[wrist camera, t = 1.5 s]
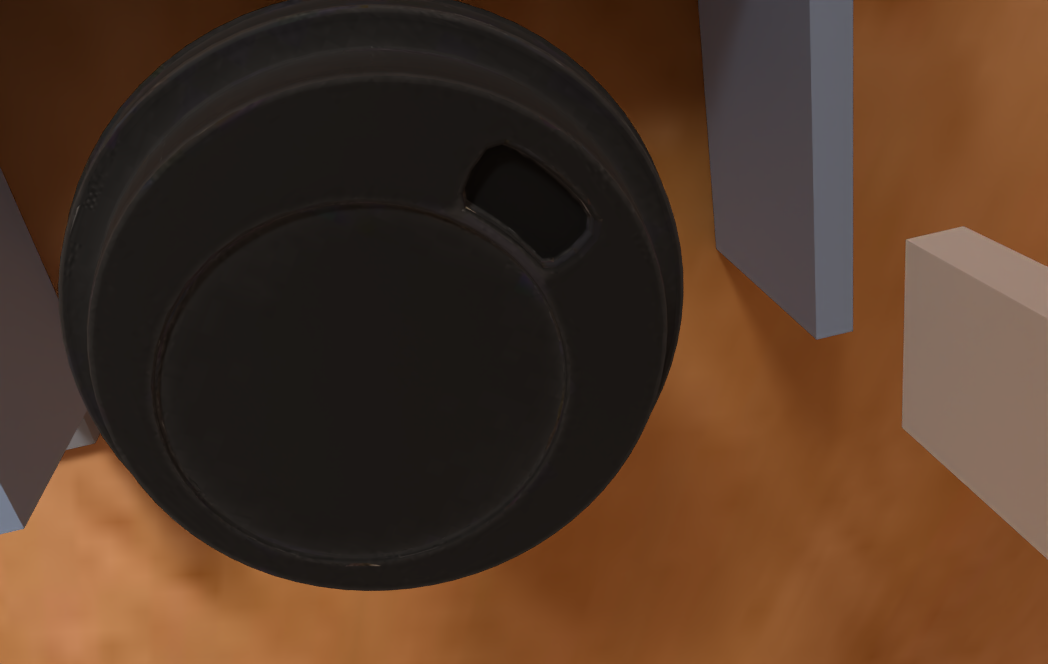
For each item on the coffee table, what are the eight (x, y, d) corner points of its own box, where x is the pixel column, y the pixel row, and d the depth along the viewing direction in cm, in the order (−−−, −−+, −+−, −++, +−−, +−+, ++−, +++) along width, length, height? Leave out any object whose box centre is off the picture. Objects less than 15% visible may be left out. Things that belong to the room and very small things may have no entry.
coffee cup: (567, -1, 25) (816, 96, 12) (493, 304, 29) (620, 647, 15) (216, -88, 23) (24, -92, 9) (183, 256, 26) (11, 614, 13)
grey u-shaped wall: (-146, -60, 22) (-349, -49, 15) (718, -215, 23) (853, -262, 17) (65, 396, 27) (-20, 538, 21) (745, 242, 29) (852, 330, 23)
